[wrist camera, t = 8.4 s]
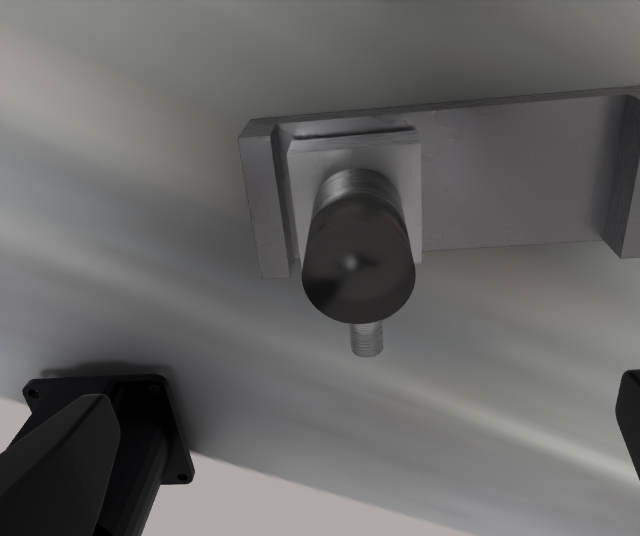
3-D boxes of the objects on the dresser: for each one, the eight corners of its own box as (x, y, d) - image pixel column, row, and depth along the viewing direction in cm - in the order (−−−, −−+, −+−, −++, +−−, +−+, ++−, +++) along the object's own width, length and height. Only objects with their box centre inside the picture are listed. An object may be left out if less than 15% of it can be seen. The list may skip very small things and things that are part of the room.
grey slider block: (418, 330, 21) (438, 443, 16) (315, 335, 21) (304, 447, 16) (415, 130, 17) (441, 195, 12) (291, 140, 17) (267, 208, 12)
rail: (620, 226, 20) (652, 256, 18) (270, 248, 21) (261, 279, 19) (647, 84, 17) (687, 100, 15) (250, 119, 19) (237, 138, 16)
